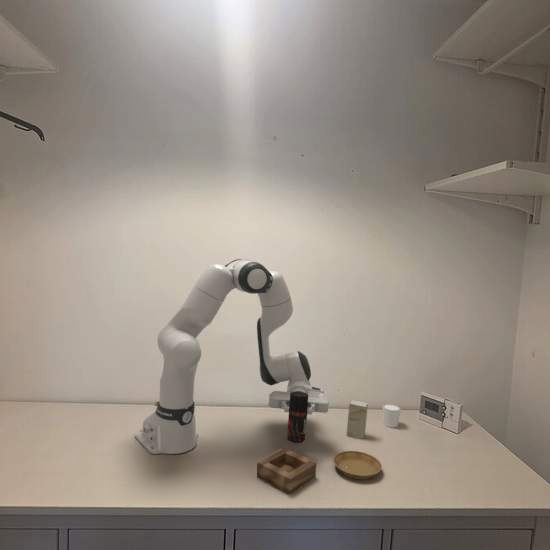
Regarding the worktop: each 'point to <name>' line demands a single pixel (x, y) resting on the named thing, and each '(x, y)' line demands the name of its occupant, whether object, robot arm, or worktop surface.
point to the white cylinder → (391, 415)
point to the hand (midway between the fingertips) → (298, 411)
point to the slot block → (286, 470)
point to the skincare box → (357, 419)
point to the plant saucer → (357, 464)
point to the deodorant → (297, 417)
